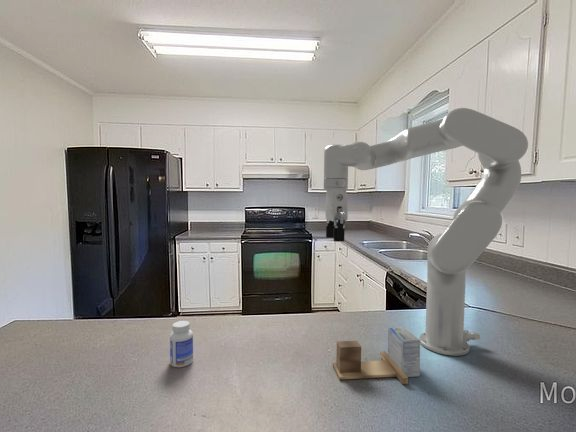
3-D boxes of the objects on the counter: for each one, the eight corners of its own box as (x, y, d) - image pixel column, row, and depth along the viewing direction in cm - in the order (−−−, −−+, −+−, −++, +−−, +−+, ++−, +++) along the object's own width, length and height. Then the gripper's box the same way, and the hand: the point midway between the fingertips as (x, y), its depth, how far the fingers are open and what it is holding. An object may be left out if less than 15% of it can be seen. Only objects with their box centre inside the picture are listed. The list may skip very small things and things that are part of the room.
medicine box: (420, 377, 70) (421, 340, 70) (401, 378, 70) (402, 341, 69) (403, 359, 78) (404, 326, 78) (386, 360, 77) (387, 327, 77)
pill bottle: (197, 358, 77) (197, 321, 77) (183, 369, 72) (183, 329, 72) (179, 355, 79) (179, 318, 78) (165, 365, 74) (164, 326, 73)
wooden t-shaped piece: (384, 356, 79) (385, 331, 79) (407, 384, 67) (408, 354, 67) (329, 359, 77) (330, 333, 77) (343, 387, 65) (343, 357, 65)
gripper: (356, 183, 88) (355, 243, 88) (339, 186, 105) (338, 236, 106) (330, 183, 87) (329, 243, 88) (318, 186, 104) (317, 236, 105)
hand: (334, 239), depth 97 cm, fingers open, 9 cm apart
